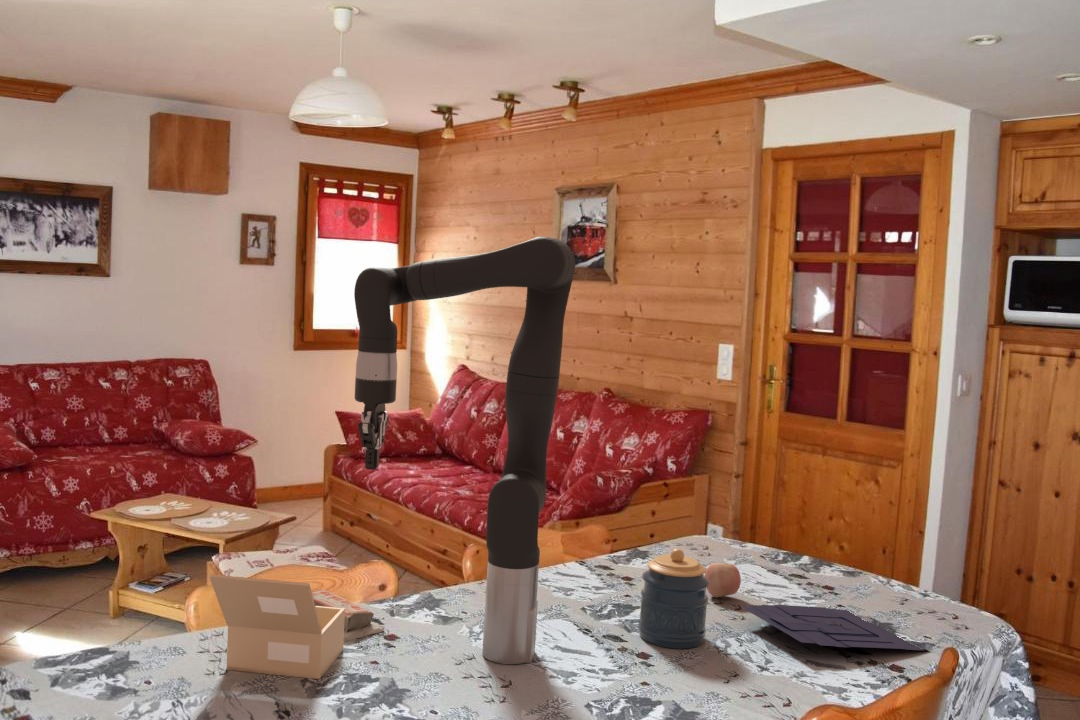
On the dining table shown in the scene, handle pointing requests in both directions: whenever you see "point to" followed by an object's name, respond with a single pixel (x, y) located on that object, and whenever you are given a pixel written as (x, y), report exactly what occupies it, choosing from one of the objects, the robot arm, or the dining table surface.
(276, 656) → the mailer box
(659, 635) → the canister
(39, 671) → the dining table surface
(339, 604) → the packaged product
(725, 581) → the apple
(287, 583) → the lid
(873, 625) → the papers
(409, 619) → the dining table surface
